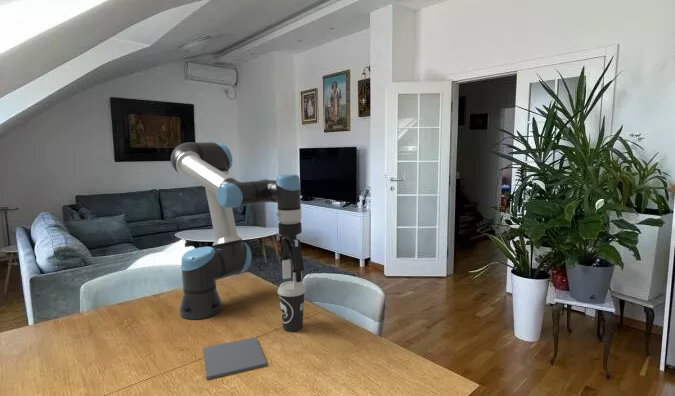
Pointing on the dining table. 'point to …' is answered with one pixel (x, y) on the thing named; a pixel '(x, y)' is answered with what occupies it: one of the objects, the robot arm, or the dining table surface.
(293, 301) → the coffee cup
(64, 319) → the dining table surface
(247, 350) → the mat
